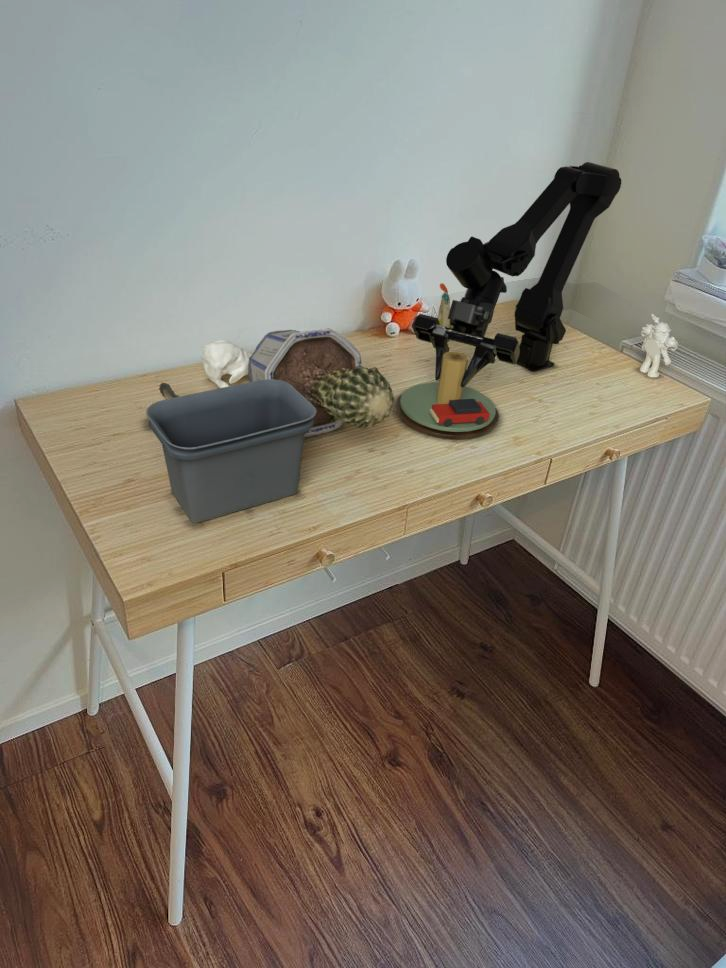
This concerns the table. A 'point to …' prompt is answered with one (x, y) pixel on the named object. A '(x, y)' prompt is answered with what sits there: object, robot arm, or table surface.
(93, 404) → the table surface
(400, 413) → the display stand
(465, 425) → the turntable
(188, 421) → the storage bin
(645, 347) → the white character figurine
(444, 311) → the rattle
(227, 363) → the white crumpled lump
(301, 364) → the potted plant
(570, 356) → the table surface
